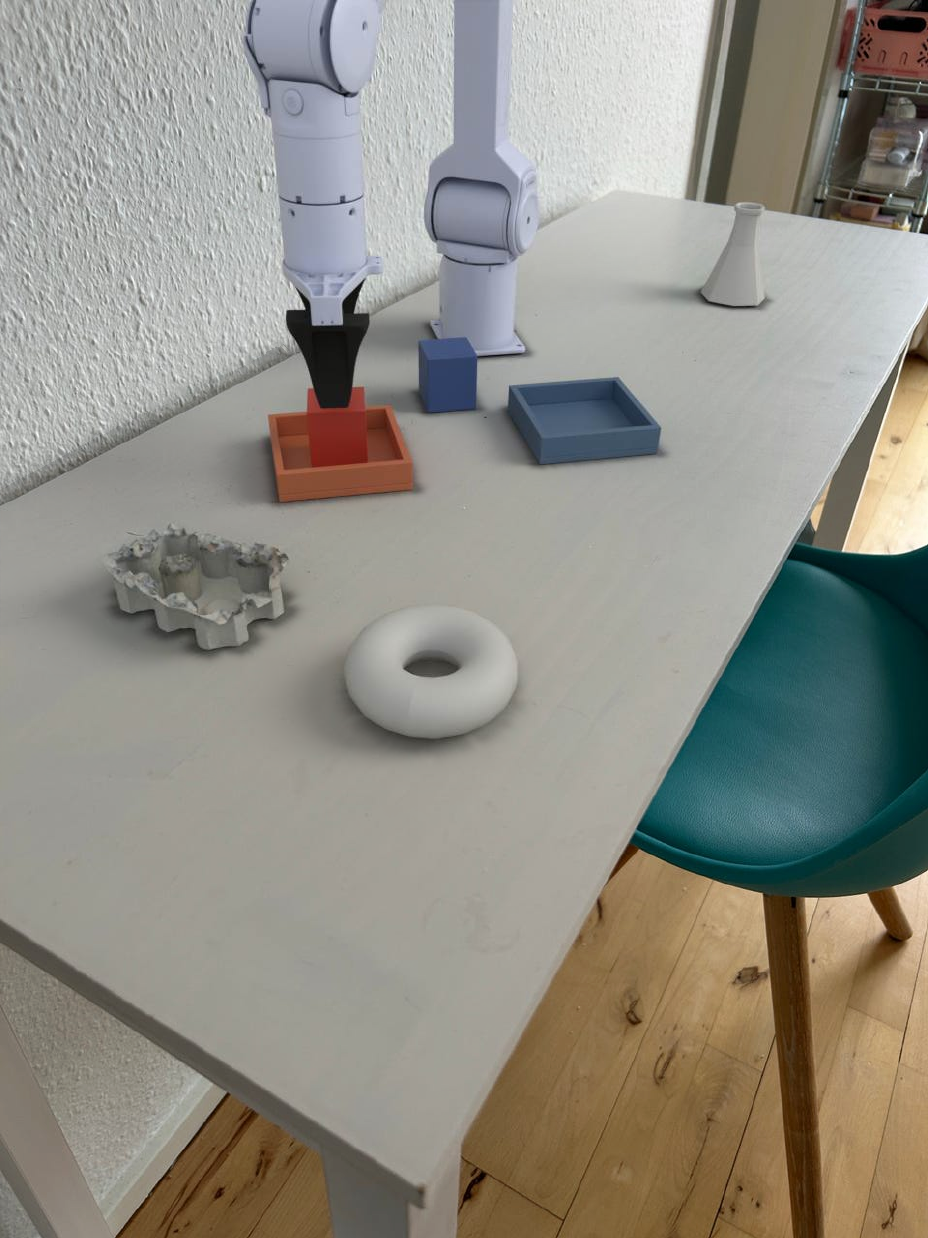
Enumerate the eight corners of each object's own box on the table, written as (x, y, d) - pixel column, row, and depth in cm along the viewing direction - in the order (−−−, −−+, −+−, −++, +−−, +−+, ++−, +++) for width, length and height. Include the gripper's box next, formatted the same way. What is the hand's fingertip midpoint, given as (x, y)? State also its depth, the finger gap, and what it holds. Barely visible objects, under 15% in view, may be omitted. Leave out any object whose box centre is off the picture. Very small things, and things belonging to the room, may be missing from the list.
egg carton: (302, 606, 62) (297, 554, 59) (215, 667, 57) (206, 613, 54) (189, 550, 66) (179, 499, 64) (100, 602, 61) (86, 549, 59)
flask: (765, 311, 106) (786, 217, 100) (699, 305, 107) (716, 211, 101) (762, 289, 112) (782, 199, 106) (700, 284, 113) (715, 194, 107)
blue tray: (507, 410, 85) (508, 385, 84) (615, 401, 87) (618, 376, 85) (539, 464, 77) (541, 437, 76) (657, 453, 79) (661, 427, 78)
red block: (312, 445, 78) (307, 387, 75) (366, 443, 78) (364, 386, 75) (311, 471, 74) (306, 412, 71) (368, 469, 75) (365, 410, 72)
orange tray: (270, 440, 80) (267, 414, 78) (391, 430, 81) (390, 404, 80) (279, 502, 72) (276, 474, 70) (412, 489, 74) (412, 462, 72)
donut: (505, 635, 60) (345, 638, 59) (509, 590, 58) (343, 593, 57) (527, 749, 52) (343, 755, 51) (532, 703, 50) (340, 708, 49)
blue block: (418, 392, 88) (418, 339, 85) (465, 388, 88) (466, 336, 85) (427, 413, 84) (427, 359, 81) (476, 409, 85) (477, 355, 82)
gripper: (385, 224, 59) (391, 425, 67) (376, 167, 70) (382, 345, 79) (270, 225, 58) (290, 428, 66) (279, 168, 69) (296, 347, 78)
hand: (334, 384), depth 72 cm, fingers open, 7 cm apart
